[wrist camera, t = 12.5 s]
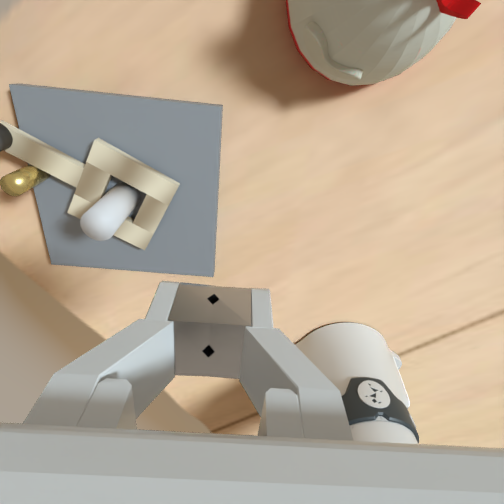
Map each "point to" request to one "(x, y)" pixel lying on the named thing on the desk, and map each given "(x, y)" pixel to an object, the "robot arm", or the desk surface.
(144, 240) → the knobbed lever handle
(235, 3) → the desk surface
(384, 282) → the desk surface
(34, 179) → the gold rounded cylinder
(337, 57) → the kitchen timer
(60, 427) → the robot arm
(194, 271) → the board
